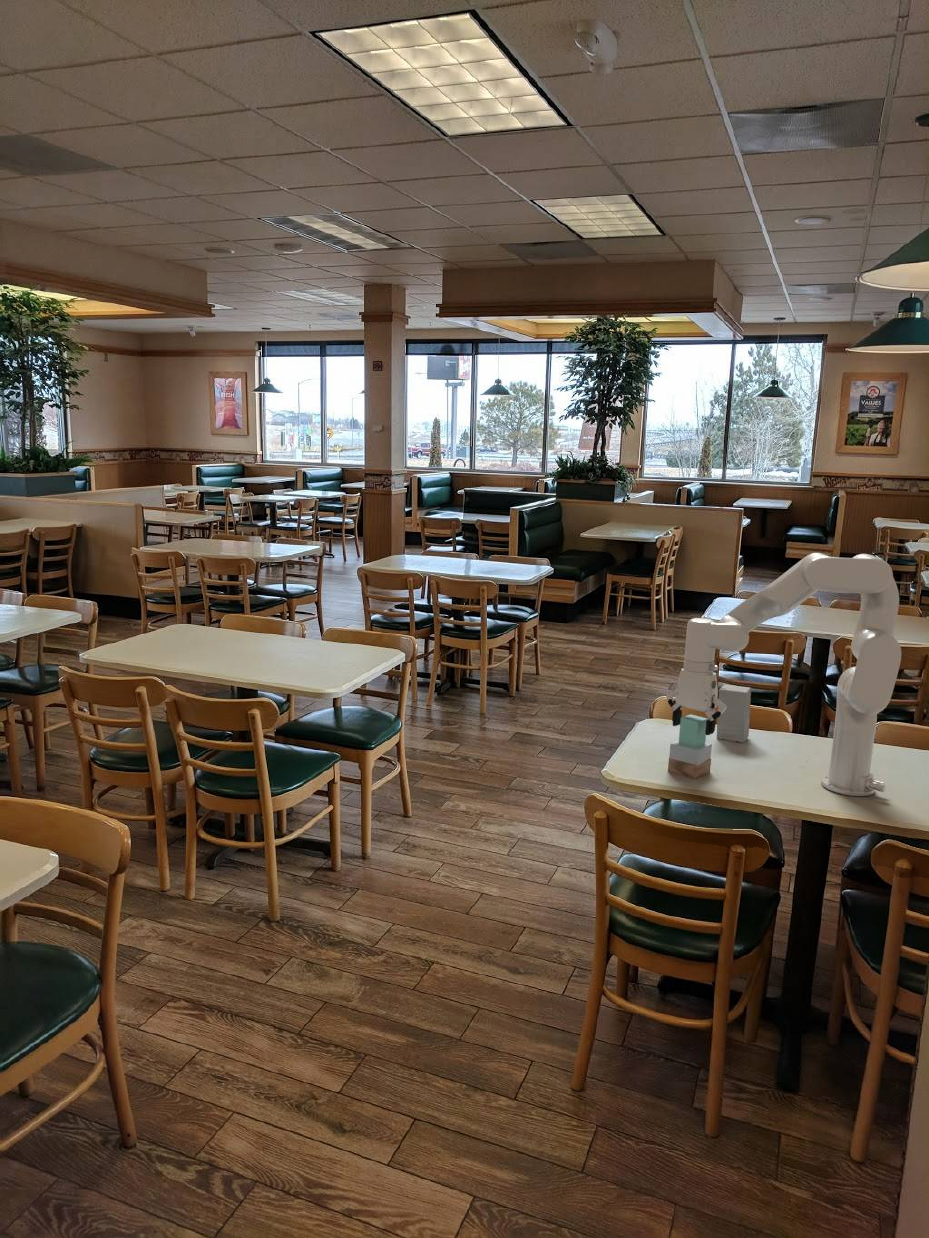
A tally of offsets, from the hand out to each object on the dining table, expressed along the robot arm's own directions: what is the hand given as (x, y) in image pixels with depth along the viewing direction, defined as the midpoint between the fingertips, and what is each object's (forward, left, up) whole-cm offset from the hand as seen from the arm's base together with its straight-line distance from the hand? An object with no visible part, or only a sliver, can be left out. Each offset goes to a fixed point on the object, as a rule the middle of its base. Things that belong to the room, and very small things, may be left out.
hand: (692, 729), depth 234 cm
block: (0, 0, -4) cm, 4 cm away
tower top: (0, 0, -8) cm, 8 cm away
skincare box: (+7, -36, -12) cm, 39 cm away
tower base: (0, 0, -12) cm, 12 cm away
